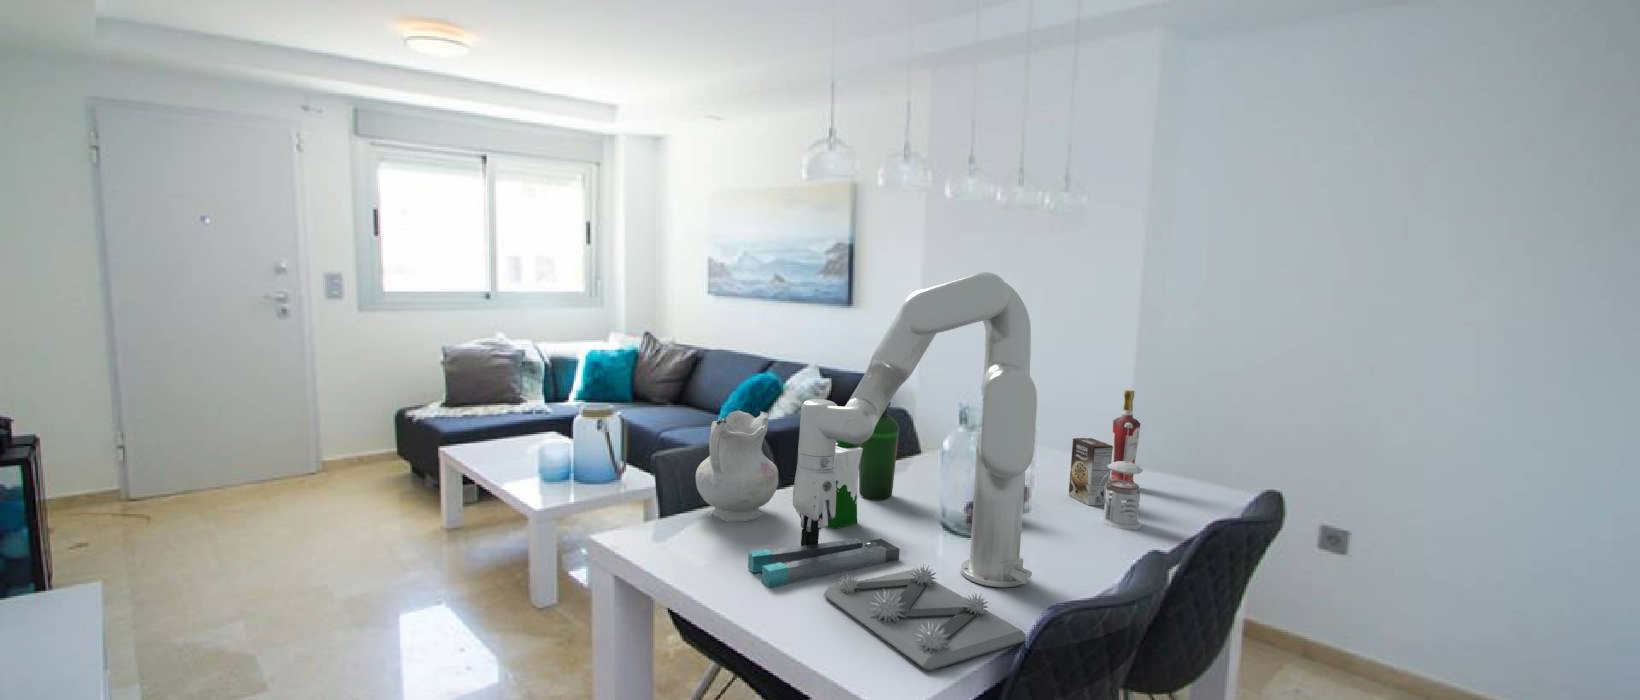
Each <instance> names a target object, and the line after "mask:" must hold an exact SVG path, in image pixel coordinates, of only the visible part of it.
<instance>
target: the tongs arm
mask: <svg viewBox="0 0 1640 700" xmlns="http://www.w3.org/2000/svg"><path fill="white" fill-rule="evenodd" d="M863 544H864V547H868V548H872V547H877V543H876V542H874V541H871V540H866V541H865V542H863V541H862V540H859V539H858V538H853V539H844V540H835V541H829V542H823V543H822V542H821V543H818V544H813V545H805V546H801V545H799V546H791V547H790V546H789V547H782V548H777V549H776V548H775V549H768V548H765V549H758V550H750V551H748V553H747V554H748V555H747V556H748V557H747V568H748V570H750V572H752V574H753V573H762V566H764V565H769V564H774V563H780V562H781V563H787V562H792V561H797V560H802V559H808V558H813V557H818V556H823V555H828V554H833V553H838V552H843V551H849V550H854V549H859V548H864V547H863Z"/></svg>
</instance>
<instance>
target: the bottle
mask: <svg viewBox="0 0 1640 700" xmlns="http://www.w3.org/2000/svg"><path fill="white" fill-rule="evenodd" d="M890 406H891V401H890V402H889V404H888V406H887V407H886V409H885V411H884V412H883V414H882V415H881V417H880V419H879V421H878V422H877V424H876V426H875V429H874V431H873V434H872V435H871V437H870V438H869V439H868V440H867V441H865V442H863V443H860V444H858V447H859V448H862V449H863V450H862V454H861V459H860V463H859V469H858V489H859V490H858V493H859V494H860V496H861V497H862V498H865V499H868V500H872V501H873V500H874V501H884V500H887V499H889V498H890V499H891V497H892V495H893V491H894V490H893V489H894V478H895V472H896V471H895V470H896V461H897V452H898V444H899V436H900V435H899V434H900V425H899V424H898V422H897V420H896V419H894V418H893V417H892V416H890V415H889V414H888V411H889V407H890Z"/></svg>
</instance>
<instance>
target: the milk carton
mask: <svg viewBox="0 0 1640 700" xmlns="http://www.w3.org/2000/svg"><path fill="white" fill-rule="evenodd" d="M862 450H863V449H862V448H859V446H856V444H851V443H847V442H843V441H839V440H837V442H836V449H835V462H834V470H833V471H834V472H835V477H836V512H835V517H834V518H833V519H830V518H828V527H830V528H832V529H834V530H836V529H841V528H844V527H847V526H851V525H855V524H858V489H859V463H860V459H861V454H862Z"/></svg>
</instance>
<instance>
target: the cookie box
mask: <svg viewBox="0 0 1640 700" xmlns="http://www.w3.org/2000/svg"><path fill="white" fill-rule="evenodd" d="M1071 448H1072V449H1071V457H1070V458H1071V460H1070V461H1071V462H1070V471H1069V482H1068V483H1069V484H1068V485H1069V487H1068V496H1069V497H1070V498H1073V499H1075V500H1077V501H1078V502H1081V503H1083V504H1085V505H1087V506H1105V502H1103V501H1105V498H1104V487H1105V484H1106V482H1107V481H1108V479H1109V475H1107V474H1110V475H1111V470H1110V469H1108V467H1107V466H1108V465H1109V464H1111V463H1112V451H1113V446H1112V445H1111V444H1109V443H1106V442H1104V441H1100V440H1098V439H1095V438H1092V437H1090V438H1085V437H1077V438H1076V437H1075V438H1072V446H1071ZM1105 475H1107V476H1106V477H1105V478H1104V479H1103V477H1104V476H1105ZM1102 479H1103V481H1102V483H1101V480H1102ZM1109 481H1110V479H1109ZM1109 481H1108V482H1109ZM1108 482H1107V485H1106V487H1105V496H1106V488H1107V487H1108V486H1110V485H1109V484H1108ZM1100 483H1101V486H1100V495H1101V499H1102V500H1103V501H1102V500H1101V499H1100V496H1099V485H1100Z"/></svg>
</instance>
